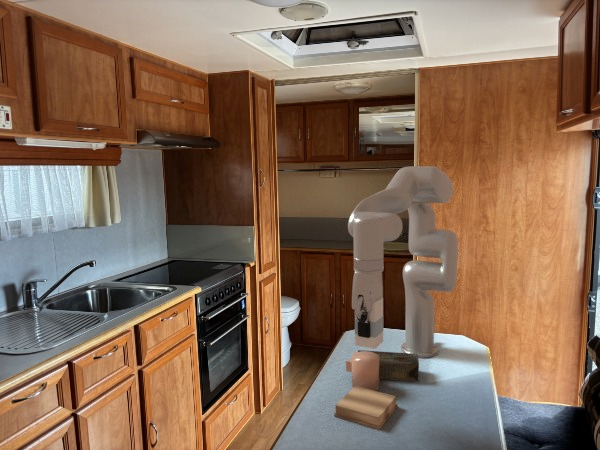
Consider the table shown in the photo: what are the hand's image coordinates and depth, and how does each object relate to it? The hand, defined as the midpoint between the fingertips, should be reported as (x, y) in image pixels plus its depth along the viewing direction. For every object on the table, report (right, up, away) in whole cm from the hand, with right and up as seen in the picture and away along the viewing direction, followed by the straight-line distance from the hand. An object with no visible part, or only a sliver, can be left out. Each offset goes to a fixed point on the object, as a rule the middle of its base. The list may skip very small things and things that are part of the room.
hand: (368, 332), depth 122 cm
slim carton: (0, -3, 0) cm, 3 cm away
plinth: (0, -22, +3) cm, 22 cm away
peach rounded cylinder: (+1, -20, +18) cm, 26 cm away
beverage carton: (+9, -19, +24) cm, 32 cm away
